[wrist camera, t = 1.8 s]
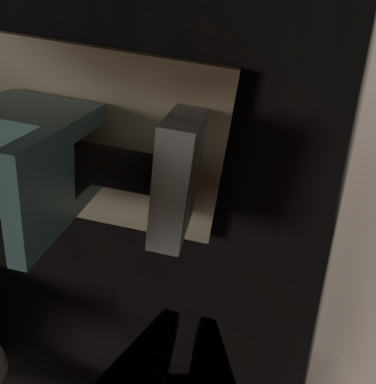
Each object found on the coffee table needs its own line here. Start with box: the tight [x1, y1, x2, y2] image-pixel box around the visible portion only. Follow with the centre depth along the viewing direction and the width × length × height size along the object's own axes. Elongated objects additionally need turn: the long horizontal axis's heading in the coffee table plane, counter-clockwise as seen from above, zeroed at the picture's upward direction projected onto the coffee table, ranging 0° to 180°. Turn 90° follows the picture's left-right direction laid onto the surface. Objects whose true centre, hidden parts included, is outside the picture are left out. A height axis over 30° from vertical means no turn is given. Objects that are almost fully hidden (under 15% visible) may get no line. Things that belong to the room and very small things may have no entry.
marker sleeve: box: [0, 88, 104, 272], centre depth 16 cm, size 5×5×8 cm
